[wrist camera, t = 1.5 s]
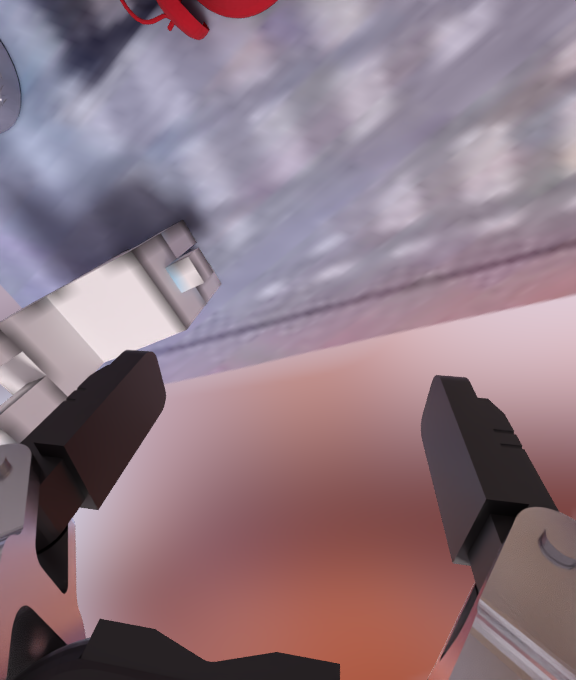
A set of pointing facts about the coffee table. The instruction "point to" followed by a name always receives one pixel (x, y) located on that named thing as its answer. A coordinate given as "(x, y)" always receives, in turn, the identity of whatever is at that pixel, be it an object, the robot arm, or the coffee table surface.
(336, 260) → the coffee table surface
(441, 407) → the robot arm
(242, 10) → the alarm clock
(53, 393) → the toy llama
